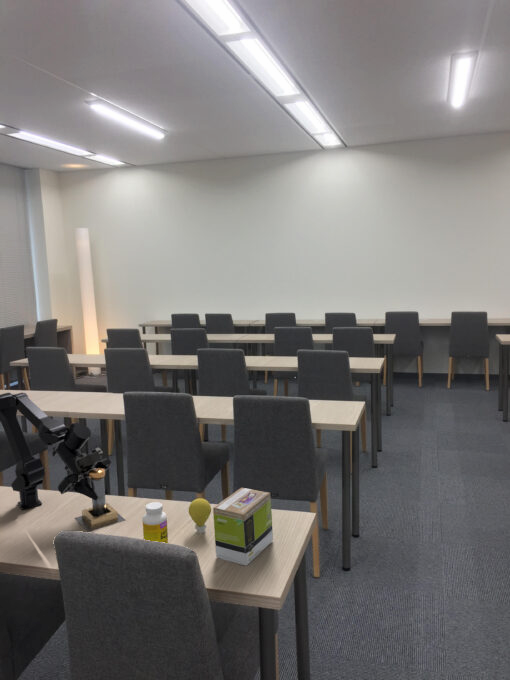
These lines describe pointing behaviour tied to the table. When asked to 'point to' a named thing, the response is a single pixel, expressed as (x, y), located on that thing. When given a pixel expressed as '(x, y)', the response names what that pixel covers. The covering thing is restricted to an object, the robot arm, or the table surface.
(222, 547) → the tea box
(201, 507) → the light bulb
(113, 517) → the tan square base
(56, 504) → the table surface
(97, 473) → the copper capped grey cylinder
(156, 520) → the supplement bottle
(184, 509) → the table surface
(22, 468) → the robot arm
